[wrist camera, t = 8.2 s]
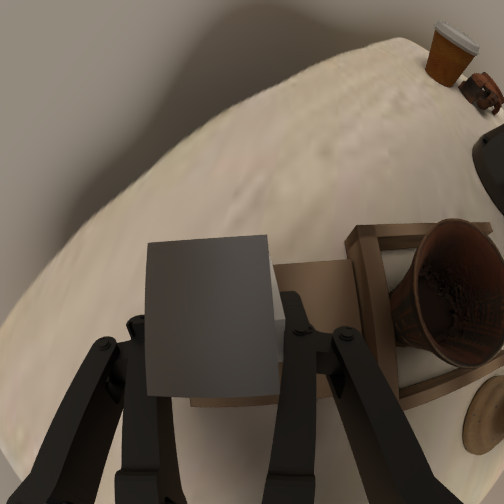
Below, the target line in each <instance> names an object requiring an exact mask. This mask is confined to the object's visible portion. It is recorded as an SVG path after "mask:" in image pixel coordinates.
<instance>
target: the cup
mask: <svg viewBox="0 0 504 504" xmlns="http://www.w3.org/2000/svg"><path fill="white" fill-rule="evenodd" d="M388 294H389V300H390V306H391V317H392V322H393V327H394V336H395V345H396V346H399V347H405V346H411V347H416V348H420V349H424V350H427V351H430V352H433V353H434V354H435V355H436V356H437V357H439V358H440V359H441V360H443V361H445V362H447V363H448V364H451V365H453V366H456V367H459V368H464V369H473V368H478V367H481V366H483V365H485V364H487V363H488V362H489V361H490V360H491V359H493V358H494V357H495V356H496V355H497V354H498V353H499V352H500V350H501V348H502V347H503V345H504V260H503V258H502V256H501V254H500V252H499V250H498V248H497V247H496V245H495V244H494V243H493V241H492V240H491V239H490V238H489V236H488V235H487V234H486V233H484V231H483V230H481V229H480V228H479V227H477V226H476V225H474V224H473V223H471V222H468V221H466V220H462V219H454V218H452V219H445V220H442V221H440V222H438V223H436V224H435V225H434V226H432V227H431V228H430V229H429V230H428V231H427V233H426V234H425V235H424V237H423V238H422V240H421V242H420V244H419V246H418V248H417V250H416V252H415V255H414V258H413V261H412V264H411V266H410V268H409V270H408V272H407V273H406V275H405V277H404V278H403V280H402V281H401V282H400V284H399V285H398V286H397V287H396V288H395V289H394V290H393V291H391V292H390V293H388Z"/></svg>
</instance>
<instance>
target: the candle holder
mask: <svg viewBox="0 0 504 504" xmlns="http://www.w3.org/2000/svg"><path fill="white" fill-rule="evenodd" d="M503 438H504V376H495V377H492V378H491V379H489V380H488V381H487V382H485V383H484V384H483V386H482V387H481V388H480V389H479V391H478V392H477V394H476V395H475V397H474V399H473V401H472V403H471V405H470V407H469V410H468V413H467V416H466V419H465V423H464V429H463V441H464V445H465V448H466V449H467V450H468V451H469V452H470V453H472V454H475V455H482V454H485V453H487V452H489V451H490V450H491V449H493V448H494V447H495V446H496V445H497V444H498V443H499V442H500V441H502V440H503Z"/></svg>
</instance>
